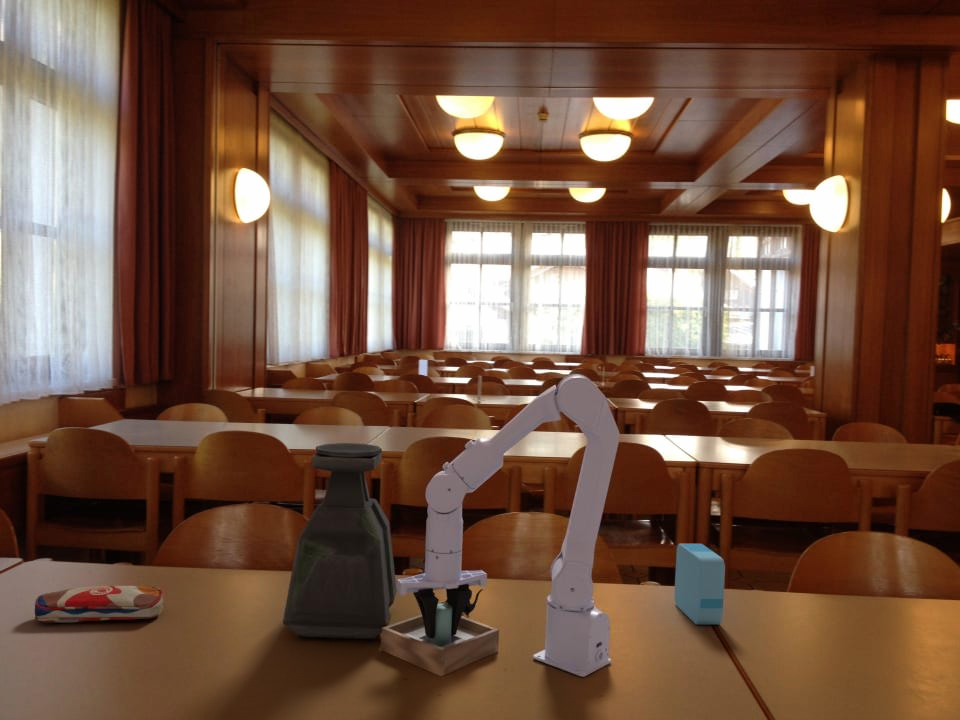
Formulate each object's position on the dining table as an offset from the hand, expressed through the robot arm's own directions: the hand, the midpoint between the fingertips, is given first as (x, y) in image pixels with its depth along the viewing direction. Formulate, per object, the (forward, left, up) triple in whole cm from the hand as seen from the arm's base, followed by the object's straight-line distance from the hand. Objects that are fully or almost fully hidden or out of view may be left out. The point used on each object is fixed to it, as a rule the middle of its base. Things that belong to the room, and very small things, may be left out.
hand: (440, 634), depth 124 cm
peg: (0, 0, -2) cm, 2 cm away
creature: (+9, -14, -3) cm, 17 cm away
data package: (-21, -46, -3) cm, 51 cm away
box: (0, 0, -3) cm, 3 cm away
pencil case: (+49, +32, -3) cm, 58 cm away
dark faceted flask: (+19, +4, -3) cm, 20 cm away
